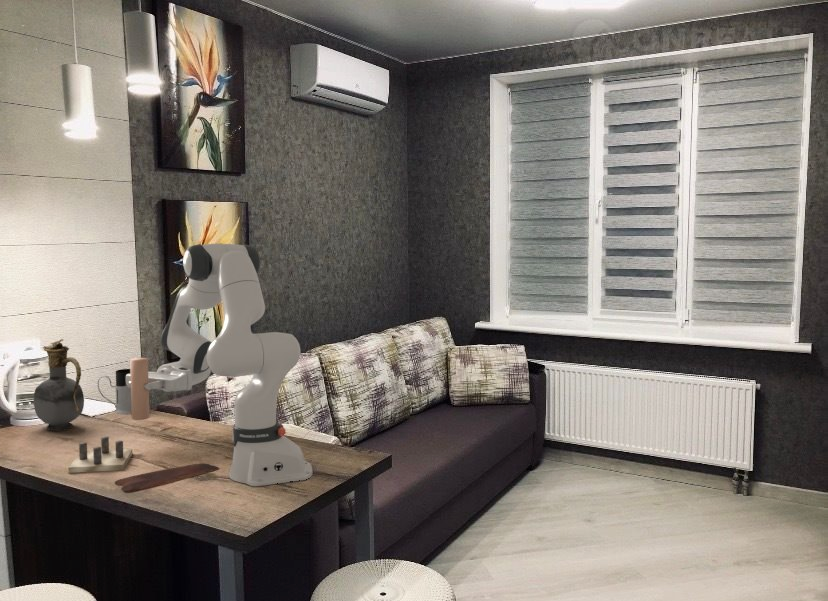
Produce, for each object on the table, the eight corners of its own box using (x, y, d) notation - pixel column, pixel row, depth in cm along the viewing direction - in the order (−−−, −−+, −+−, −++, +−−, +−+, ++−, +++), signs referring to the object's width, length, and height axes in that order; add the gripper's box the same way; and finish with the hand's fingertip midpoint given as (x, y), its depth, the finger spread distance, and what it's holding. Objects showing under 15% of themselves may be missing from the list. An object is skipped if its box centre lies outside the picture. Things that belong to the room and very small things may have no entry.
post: (150, 415, 212) (149, 357, 211) (148, 419, 207) (146, 360, 206) (133, 416, 211) (131, 358, 209) (130, 420, 206) (128, 361, 205)
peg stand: (132, 453, 205) (131, 434, 204) (123, 469, 191) (122, 448, 191) (81, 456, 202) (80, 436, 201) (68, 472, 188) (67, 451, 188)
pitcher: (60, 420, 239) (57, 334, 236) (96, 429, 229) (93, 339, 226) (29, 428, 229) (26, 339, 226) (66, 437, 220) (62, 344, 217)
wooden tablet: (206, 458, 200) (222, 462, 192) (206, 465, 200) (223, 470, 192) (111, 480, 182) (125, 486, 174) (112, 488, 182) (126, 494, 174)
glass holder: (142, 412, 251) (141, 371, 249) (99, 417, 244) (98, 375, 242) (138, 407, 258) (138, 367, 257) (97, 411, 252) (96, 370, 250)
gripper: (144, 365, 224) (111, 372, 211) (195, 370, 216) (163, 378, 203) (145, 384, 224) (111, 393, 212) (195, 389, 217) (164, 399, 204)
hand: (137, 385), depth 207 cm, fingers closed on post, 5 cm apart
